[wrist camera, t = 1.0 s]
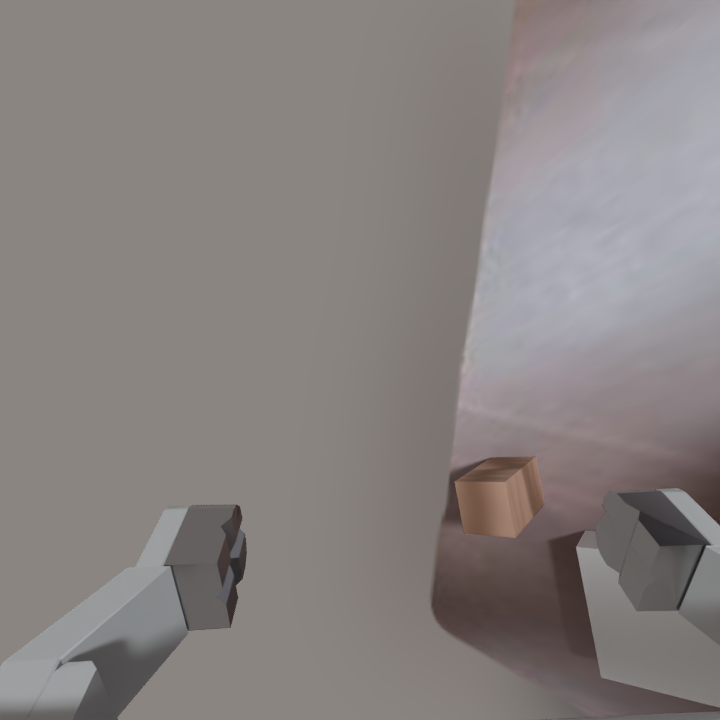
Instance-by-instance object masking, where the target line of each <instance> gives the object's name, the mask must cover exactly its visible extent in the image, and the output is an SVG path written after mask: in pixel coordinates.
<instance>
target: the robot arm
mask: <svg viewBox="0 0 720 720" xmlns="http://www.w3.org/2000/svg"><path fill="white" fill-rule="evenodd" d="M602 506H603V508H604V509H605V511H606V512H607V513H606V514H605V515H604V516H603V517H602V518H600V519H599V520H598V522H597V527H596V532H595V534H596V542H597V546H598V549H599V552H600V554H601V556H602V558H603V559H604V561H605V563H606V564H607V565H608V566H609V567H611V568H612V569H614V570H615V571H617V572H618V573H620V575H619V582H618V583H619V585H620V586H621V588H622V589H623V591H624V592H625V594H626V595H627V597H628V599H629V600H630V602H631V603H632V605H633V606H634V608H635V609H636V611H679V612H678V613H679V614H680V615H681V616H682V617H684V618H685V619H686V620H688V621H689V622H690V623H691V624H693V625H694V626H695V627H696V628H698V629H699V630H700V631H702V632H703V633H704V634H705V635H707V636H708V637H709V638H710V639H712V640H713V641H714V642H716V643H717V644H718V645H719V646H720V525H719V524H717V523H716V522H715V521H714V520H713V519H712V518H711V517H710V516H709V515H708V514H707V513H706V512H705V511H704V510H703V509H702V508H701V507H700V506H699V505H698V504H697V503H696V502H695V501H694V500H693V499H692V498H691V497H690V496H689V495H688V494H687V493H686V492H685V491H683V490H681V489H679V488H669V489H654V490H632V491H609V492H608V493H607V494H606V495H605V497H604V500H603V504H602ZM241 521H242V515H241V509H240V506H238V505H192V506H169V507H167V508H166V509H165V510H164V511H163V513H162V515H161V517H160V519H159V521H158V523H157V525H156V527H155V529H154V531H153V533H152V535H151V537H150V539H149V541H148V542H147V544H146V546H145V548H144V550H143V552H142V554H141V556H140V558H139V560H138V562H137V564H136V566H135V567H132V568H126V569H125V570H124V571H123V572H121V573H120V574H119V575H117V576H116V577H115V578H113V579H112V580H111V581H110V582H108V583H107V584H105V585H104V586H103V587H102V588H100V589H99V590H98V591H96V592H95V593H94V594H92V595H91V596H90V597H88V598H87V599H86V600H85V601H83V602H82V603H81V604H79V605H78V606H77V607H76V608H74V609H73V610H71V611H70V612H69V613H67V614H66V615H65V616H63V617H62V618H61V619H60V620H58V621H57V622H56V623H54V624H53V625H52V626H50V627H49V628H48V629H46V630H45V631H44V632H42V633H41V634H40V635H39V636H37V637H36V638H35V639H33V640H32V641H31V642H29V643H28V644H27V645H26V646H24V647H23V648H21V649H20V650H19V651H18V652H16V653H15V654H14V655H12V656H11V657H10V658H8V659H7V660H6V661H4V662H3V664H2V665H1V667H0V720H118V719H117V717H118V716H119V715H120V714H121V712H122V711H123V710H124V709H125V708H126V706H127V705H128V704H129V703H130V702H131V700H132V699H133V698H134V697H135V696H136V695H137V694H138V692H139V691H140V690H141V689H142V688H143V686H144V685H145V684H146V683H147V682H148V681H149V679H150V678H151V677H152V676H153V674H154V673H155V672H156V671H157V670H158V668H159V667H160V666H161V665H162V664H163V663H164V662H165V660H166V659H167V658H168V657H169V656H170V654H171V653H172V652H173V651H174V650H175V649H176V647H177V646H178V645H179V644H180V643H181V641H182V640H183V639H184V638H185V637H186V636H187V634H188V631H189V630H190V631H191V630H205V629H220V628H231V624H232V620H233V616H234V612H235V608H236V604H237V600H238V595H237V589H236V585H237V584H238V583H239V582H240V581H241V580H242V579H243V575H244V570H245V564H246V554H247V551H246V538H245V533H244V532H243V531H241V530H240V525H241ZM541 720H720V711H715V712H693V713H671V714H650V715H628V716H606V717H585V718H563V719H541Z"/></svg>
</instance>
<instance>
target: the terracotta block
mask: <svg viewBox="0 0 720 720" xmlns="http://www.w3.org/2000/svg"><path fill="white" fill-rule="evenodd" d="M454 482H455V487H456V492H457V498H458V503H459V509H460V514H461V520H462V525H463V531H464V533H466V534H477V535H488V536H500V537H511V538H516V537H517V535H518V534H519V533H520V532H521V531H522V530H523V529H524V527H525V526H526V525H527V524H528V523H529V522H530V520H531V519H532V518H533V517H534V516H535V515H536V513H537V512H538V511H539V510H540V509H541V508H542V506H543V505H544V504H545V503H544V497H543V492H542V487H541V482H540V476H539V471H538V466H537V461H536V457H498V458H489V459H488V460H486V461H485V462H483V463H482V464H480V465H479V466H477V467H476V468H474V469H473V470H471V471H470V472H468V473H467V474H465V475H464V476H462V477H460V478H459V479H457V480H456V481H454Z"/></svg>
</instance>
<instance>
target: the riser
mask: <svg viewBox="0 0 720 720" xmlns="http://www.w3.org/2000/svg"><path fill="white" fill-rule="evenodd" d="M595 532H596V531H586V530H585V532H584V534H583V536H582V537H581V539H580V541H579V543H578V544H577V546H576V550H577V555H578V560H579V565H580V571H581V576H582V581H583V586H584V591H585V597H586V602H587V607H588V612H589V617H590V623H591V628H592V633H593V638H594V643H595V649H596V654H597V659H598V664H599V669H600V675H601V678H604V679H608V680H612V681H616V682H620V683H624V684H628V685H632V686H636V687H640V688H644V689H648V690H652V691H655V692H659V693H663V694H667V695H671V696H675V697H679V698H683V699H687V700H691V701H695V702H699V703H703V704H707V705H711V706H715V707H718V708H720V646H719V645H718V644H717V643H716V642H714V641H713V640H712V639H710V638H709V637H708V636H707V635H705V634H704V633H703V632H702V631H700V630H699V629H698V628H696V627H695V626H694V625H693V624H691V623H690V622H689V621H688V620H686V619H685V618H684V617H682V616H681V615H680V614H679V613H678V612H679V611H636V609H635V608H634V606H633V605H632V603H631V602H630V600H629V599H628V597H627V595H626V594H625V592H624V591H623V589H622V588H621V586H620V585H619V583H618V582H619V575H620V573H618V572H617V571H615V570H614V569H612V568H611V567H609V566H608V565H607V564H606V563H605V561H604V559H603V558H602V556H601V554H600V552H599V549H598V546H597V542H596V534H595Z"/></svg>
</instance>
